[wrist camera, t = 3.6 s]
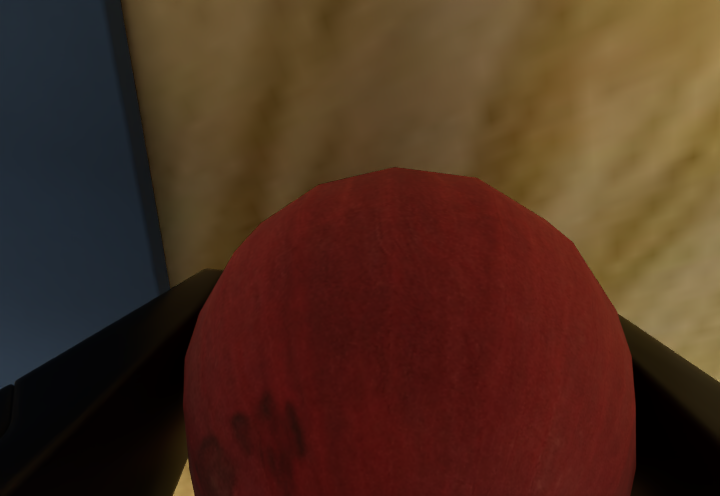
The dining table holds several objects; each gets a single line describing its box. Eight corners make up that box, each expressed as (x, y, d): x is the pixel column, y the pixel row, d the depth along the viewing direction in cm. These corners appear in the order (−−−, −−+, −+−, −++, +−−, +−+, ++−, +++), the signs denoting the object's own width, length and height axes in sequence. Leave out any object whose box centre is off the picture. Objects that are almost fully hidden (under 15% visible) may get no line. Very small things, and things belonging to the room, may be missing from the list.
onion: (313, 366, 12) (212, 910, 5) (211, 153, 9) (-299, 722, 2) (555, 321, 11) (835, 942, 4) (522, 62, 8) (1241, 654, 1)
